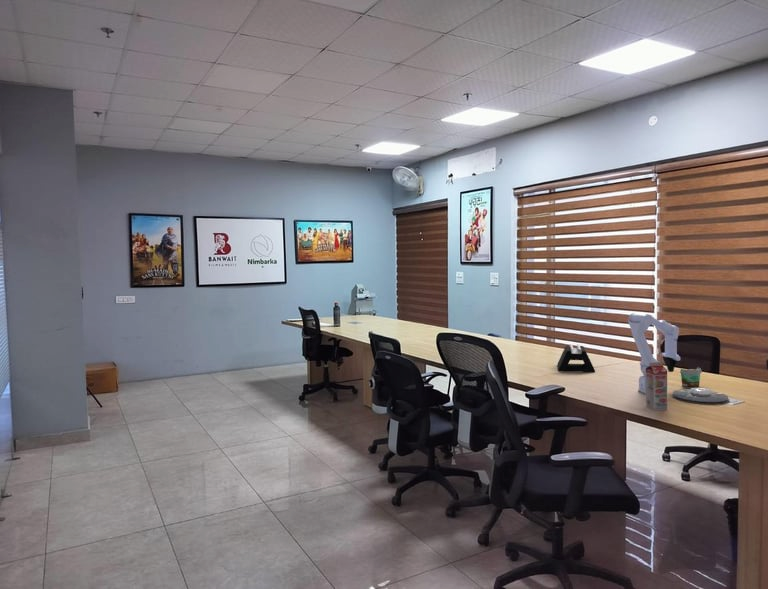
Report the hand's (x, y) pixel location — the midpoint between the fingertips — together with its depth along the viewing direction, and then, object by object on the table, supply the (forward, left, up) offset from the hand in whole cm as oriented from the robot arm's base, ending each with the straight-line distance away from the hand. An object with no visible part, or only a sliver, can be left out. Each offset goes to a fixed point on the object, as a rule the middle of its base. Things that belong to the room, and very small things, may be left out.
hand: (670, 371), depth 289 cm
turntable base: (+2, -22, -9) cm, 24 cm away
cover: (+2, -22, -8) cm, 24 cm away
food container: (+14, +2, -10) cm, 17 cm away
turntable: (+2, -22, -9) cm, 24 cm away
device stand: (-27, +64, -10) cm, 70 cm away
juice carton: (-29, -37, -10) cm, 48 cm away
